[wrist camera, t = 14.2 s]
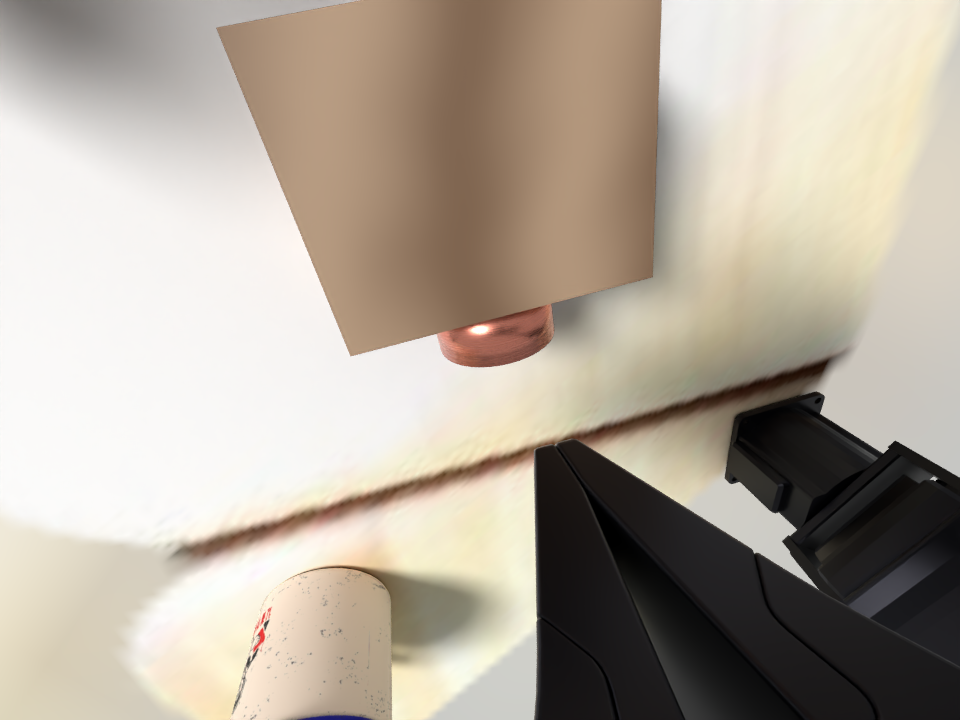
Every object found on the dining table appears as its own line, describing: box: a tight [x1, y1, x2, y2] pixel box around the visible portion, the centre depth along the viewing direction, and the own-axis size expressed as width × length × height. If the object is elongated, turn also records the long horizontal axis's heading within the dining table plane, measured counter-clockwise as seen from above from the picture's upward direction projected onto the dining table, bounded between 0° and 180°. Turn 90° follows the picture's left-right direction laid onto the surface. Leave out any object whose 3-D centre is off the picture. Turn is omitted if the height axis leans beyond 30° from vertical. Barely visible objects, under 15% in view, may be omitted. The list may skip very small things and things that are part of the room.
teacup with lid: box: [230, 568, 392, 720], centre depth 24 cm, size 12×9×12 cm
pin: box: [437, 304, 554, 367], centre depth 13 cm, size 5×14×5 cm, turn 11°
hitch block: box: [216, 0, 662, 356], centre depth 14 cm, size 10×8×7 cm
